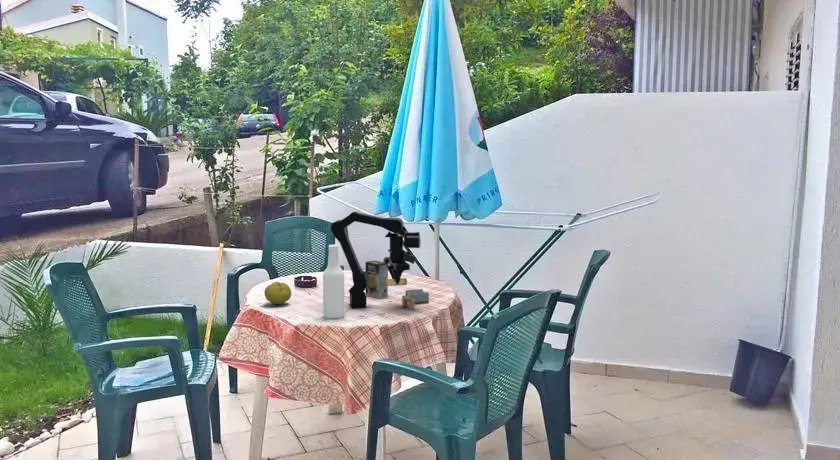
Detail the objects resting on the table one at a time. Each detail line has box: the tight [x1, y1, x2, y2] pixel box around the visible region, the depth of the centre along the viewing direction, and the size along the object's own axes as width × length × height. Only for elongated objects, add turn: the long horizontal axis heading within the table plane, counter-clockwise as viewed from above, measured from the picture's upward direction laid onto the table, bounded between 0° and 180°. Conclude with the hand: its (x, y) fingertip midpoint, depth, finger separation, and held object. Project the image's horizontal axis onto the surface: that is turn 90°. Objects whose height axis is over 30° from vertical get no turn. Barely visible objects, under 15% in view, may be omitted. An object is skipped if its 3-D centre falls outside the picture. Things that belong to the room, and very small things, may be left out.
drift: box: [401, 301, 408, 310], centre depth 320 cm, size 5×3×3 cm, turn 111°
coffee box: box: [365, 260, 389, 300], centre depth 340 cm, size 9×6×16 cm
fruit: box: [264, 281, 292, 306], centre depth 323 cm, size 11×12×10 cm
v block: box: [405, 288, 430, 305], centre depth 331 cm, size 8×9×5 cm
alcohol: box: [322, 243, 346, 320], centre depth 302 cm, size 9×9×30 cm
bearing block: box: [401, 294, 416, 311], centre depth 320 cm, size 3×8×4 cm, turn 21°
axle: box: [385, 277, 408, 287], centre depth 318 cm, size 9×3×3 cm, turn 110°
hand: (396, 283), depth 318 cm, fingers closed on axle, 3 cm apart
